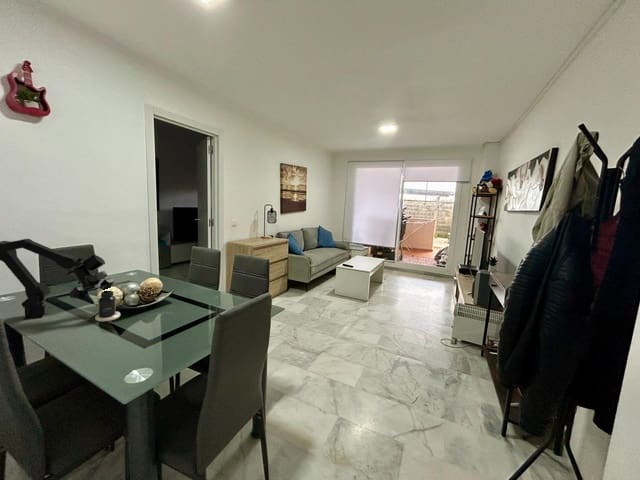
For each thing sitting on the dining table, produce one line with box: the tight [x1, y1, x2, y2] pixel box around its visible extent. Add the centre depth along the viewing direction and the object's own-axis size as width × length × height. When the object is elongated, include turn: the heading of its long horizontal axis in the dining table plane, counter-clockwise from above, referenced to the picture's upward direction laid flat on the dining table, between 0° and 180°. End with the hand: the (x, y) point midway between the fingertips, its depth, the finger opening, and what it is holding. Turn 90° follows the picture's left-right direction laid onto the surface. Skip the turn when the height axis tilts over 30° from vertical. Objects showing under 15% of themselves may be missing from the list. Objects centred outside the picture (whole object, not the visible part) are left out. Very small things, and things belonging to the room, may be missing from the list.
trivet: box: [95, 311, 121, 322], centre depth 136 cm, size 10×10×1 cm
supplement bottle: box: [97, 290, 117, 317], centre depth 135 cm, size 7×7×12 cm
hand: (102, 300), depth 135 cm, fingers open, 9 cm apart
